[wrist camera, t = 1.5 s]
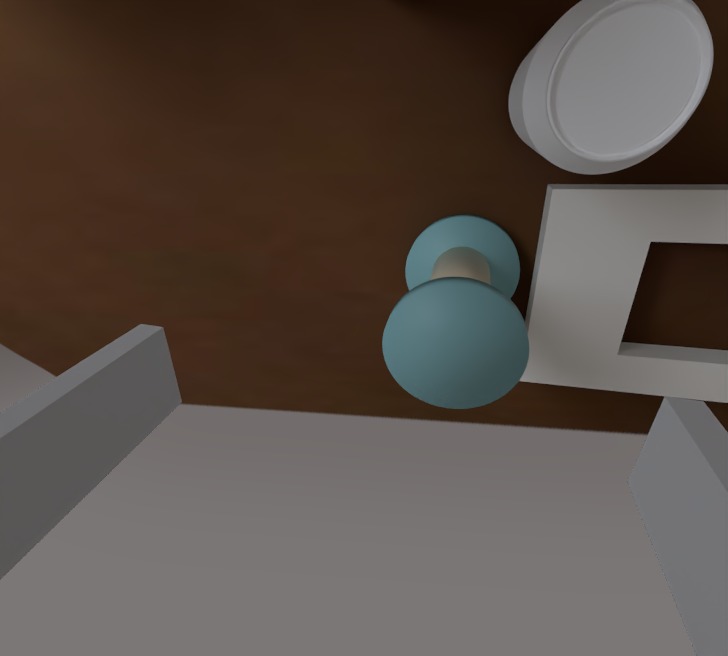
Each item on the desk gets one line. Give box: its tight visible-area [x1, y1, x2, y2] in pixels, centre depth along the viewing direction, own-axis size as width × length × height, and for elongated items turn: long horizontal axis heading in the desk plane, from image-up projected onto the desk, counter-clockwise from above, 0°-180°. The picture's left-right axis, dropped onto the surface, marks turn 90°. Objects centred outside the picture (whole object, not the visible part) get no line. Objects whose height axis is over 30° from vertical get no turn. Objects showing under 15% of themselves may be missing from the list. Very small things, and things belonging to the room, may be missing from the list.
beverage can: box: [508, 0, 713, 175], centre depth 19 cm, size 6×6×12 cm
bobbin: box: [382, 214, 529, 409], centre depth 25 cm, size 8×8×12 cm
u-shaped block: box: [520, 184, 728, 403], centre depth 27 cm, size 14×14×2 cm
